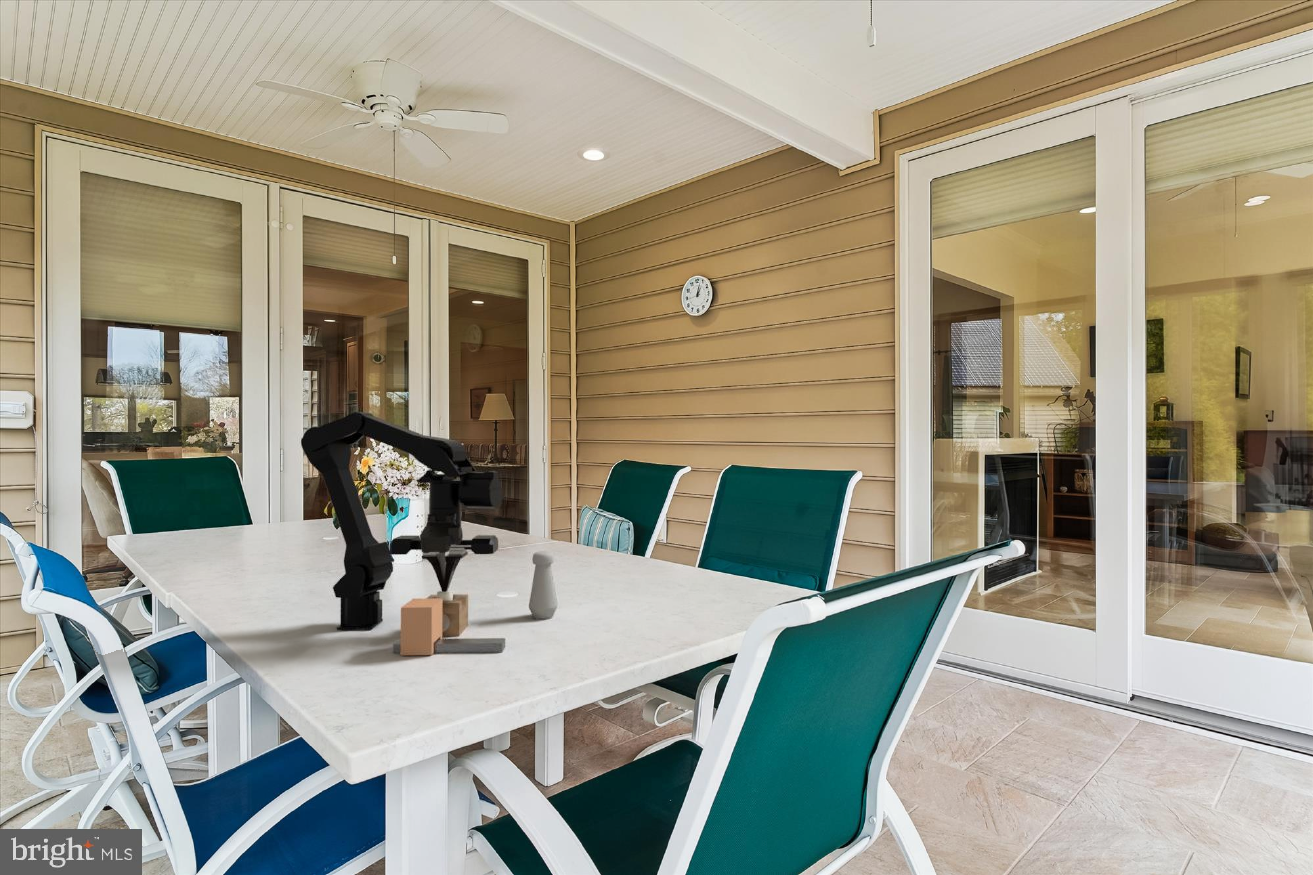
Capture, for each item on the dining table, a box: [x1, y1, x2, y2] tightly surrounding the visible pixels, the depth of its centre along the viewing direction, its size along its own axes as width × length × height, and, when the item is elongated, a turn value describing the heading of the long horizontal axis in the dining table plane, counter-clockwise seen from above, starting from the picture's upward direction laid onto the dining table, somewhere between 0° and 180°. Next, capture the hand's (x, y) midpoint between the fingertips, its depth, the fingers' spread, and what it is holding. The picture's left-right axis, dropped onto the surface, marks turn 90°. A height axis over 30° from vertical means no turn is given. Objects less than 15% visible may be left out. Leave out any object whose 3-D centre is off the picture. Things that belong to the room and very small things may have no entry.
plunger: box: [436, 589, 454, 601], centre depth 129 cm, size 3×3×3 cm
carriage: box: [400, 597, 443, 656], centre depth 117 cm, size 5×7×8 cm
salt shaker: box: [528, 550, 559, 620], centre depth 140 cm, size 6×6×13 cm
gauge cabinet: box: [427, 593, 469, 637], centre depth 129 cm, size 7×7×6 cm
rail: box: [392, 637, 506, 654], centre depth 117 cm, size 18×3×2 cm, turn 92°
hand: (444, 591), depth 129 cm, fingers closed
